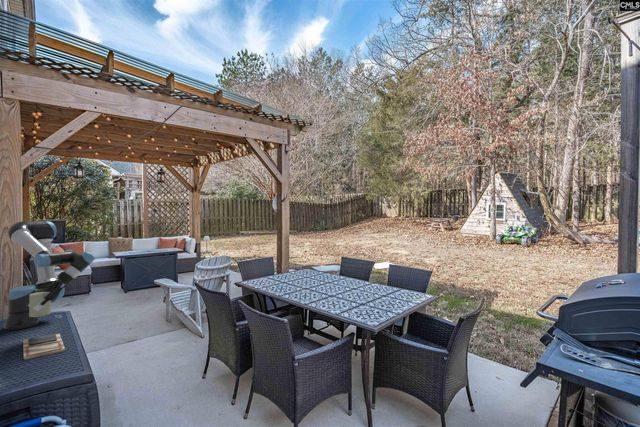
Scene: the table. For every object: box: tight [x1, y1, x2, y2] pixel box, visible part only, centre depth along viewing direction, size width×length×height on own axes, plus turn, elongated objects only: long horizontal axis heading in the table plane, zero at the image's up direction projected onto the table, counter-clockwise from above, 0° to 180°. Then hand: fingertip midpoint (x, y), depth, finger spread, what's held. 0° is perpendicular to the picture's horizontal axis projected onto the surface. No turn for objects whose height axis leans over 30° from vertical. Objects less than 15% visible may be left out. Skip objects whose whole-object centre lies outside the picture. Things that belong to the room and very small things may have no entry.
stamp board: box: [22, 332, 66, 361], centre depth 163 cm, size 28×15×2 cm, turn 44°
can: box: [29, 292, 52, 318], centre depth 175 cm, size 9×9×12 cm
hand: (32, 308), depth 172 cm, fingers closed on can, 9 cm apart
